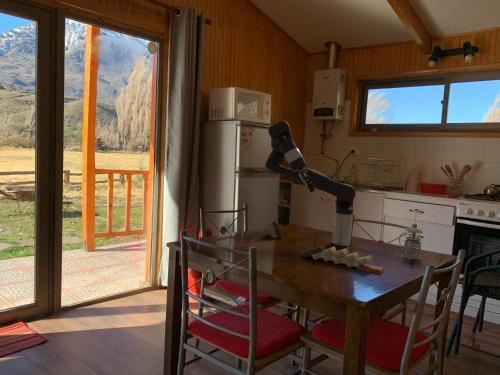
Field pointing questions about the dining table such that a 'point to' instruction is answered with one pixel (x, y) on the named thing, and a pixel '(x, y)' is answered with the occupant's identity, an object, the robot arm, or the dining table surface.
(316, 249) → the domino
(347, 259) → the domino
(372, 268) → the domino
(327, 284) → the dining table surface
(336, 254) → the domino
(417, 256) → the french press
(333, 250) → the domino
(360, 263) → the domino
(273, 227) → the rock
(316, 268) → the dining table surface
